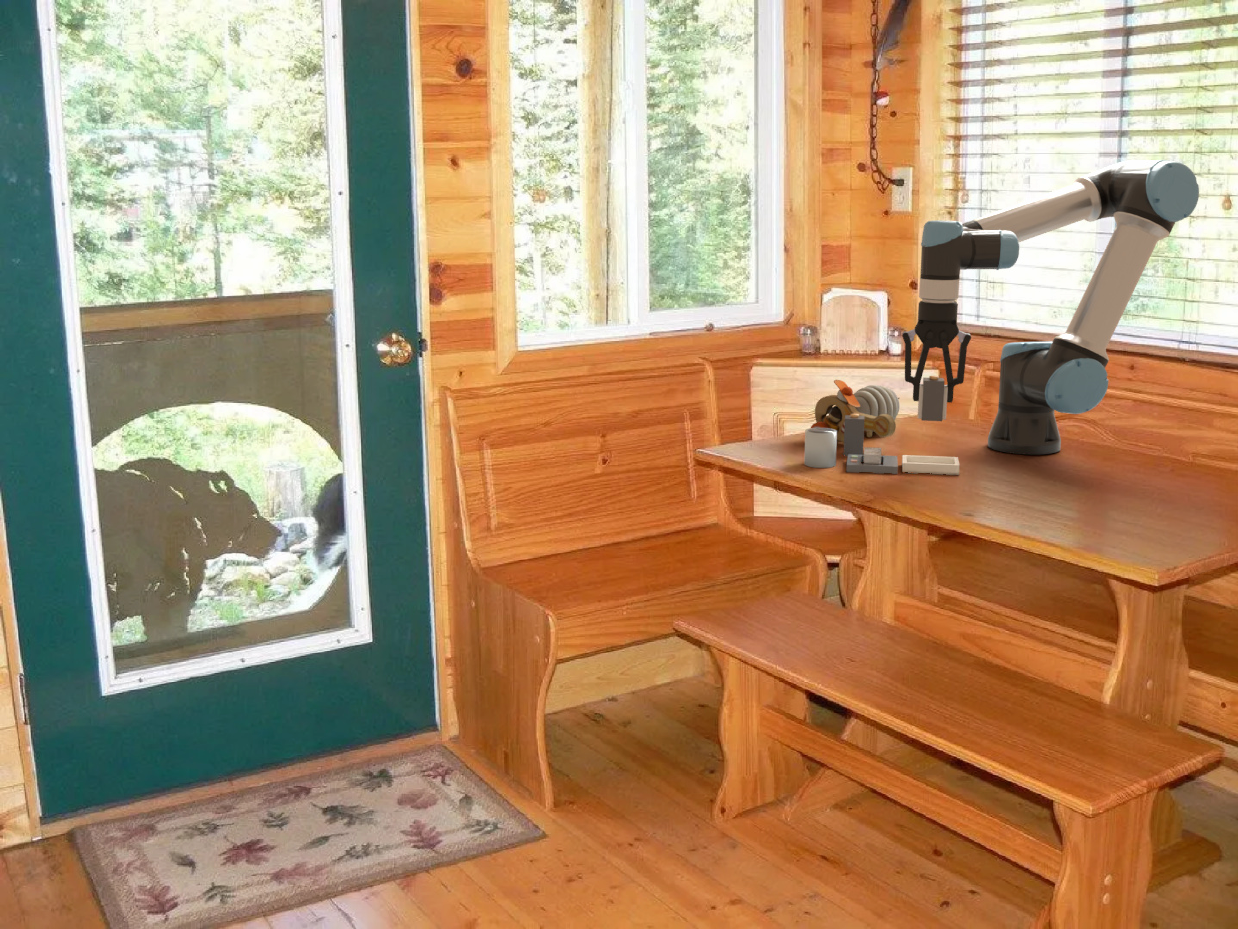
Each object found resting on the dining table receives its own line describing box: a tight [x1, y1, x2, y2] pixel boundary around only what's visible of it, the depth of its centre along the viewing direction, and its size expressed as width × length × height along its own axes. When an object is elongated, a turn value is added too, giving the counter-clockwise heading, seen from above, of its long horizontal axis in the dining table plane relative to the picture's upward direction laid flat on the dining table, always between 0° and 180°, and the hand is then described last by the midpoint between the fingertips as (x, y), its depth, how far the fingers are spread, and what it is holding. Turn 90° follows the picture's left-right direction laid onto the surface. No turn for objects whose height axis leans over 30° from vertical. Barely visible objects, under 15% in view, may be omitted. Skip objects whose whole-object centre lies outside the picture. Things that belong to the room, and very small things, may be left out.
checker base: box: [846, 454, 899, 475], centre depth 286 cm, size 10×10×2 cm
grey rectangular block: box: [863, 446, 882, 465], centre depth 286 cm, size 3×7×2 cm, turn 170°
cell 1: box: [843, 414, 865, 457], centre depth 298 cm, size 4×4×9 cm
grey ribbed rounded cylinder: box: [853, 384, 900, 438], centre depth 318 cm, size 11×17×11 cm, turn 135°
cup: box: [803, 427, 838, 469], centre depth 288 cm, size 6×6×7 cm
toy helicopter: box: [810, 379, 897, 444], centre depth 305 cm, size 8×21×14 cm, turn 43°
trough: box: [901, 454, 960, 476], centre depth 284 cm, size 11×8×2 cm
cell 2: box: [921, 375, 946, 422], centre depth 281 cm, size 4×4×9 cm
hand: (931, 417), depth 282 cm, fingers closed on cell 2, 4 cm apart
